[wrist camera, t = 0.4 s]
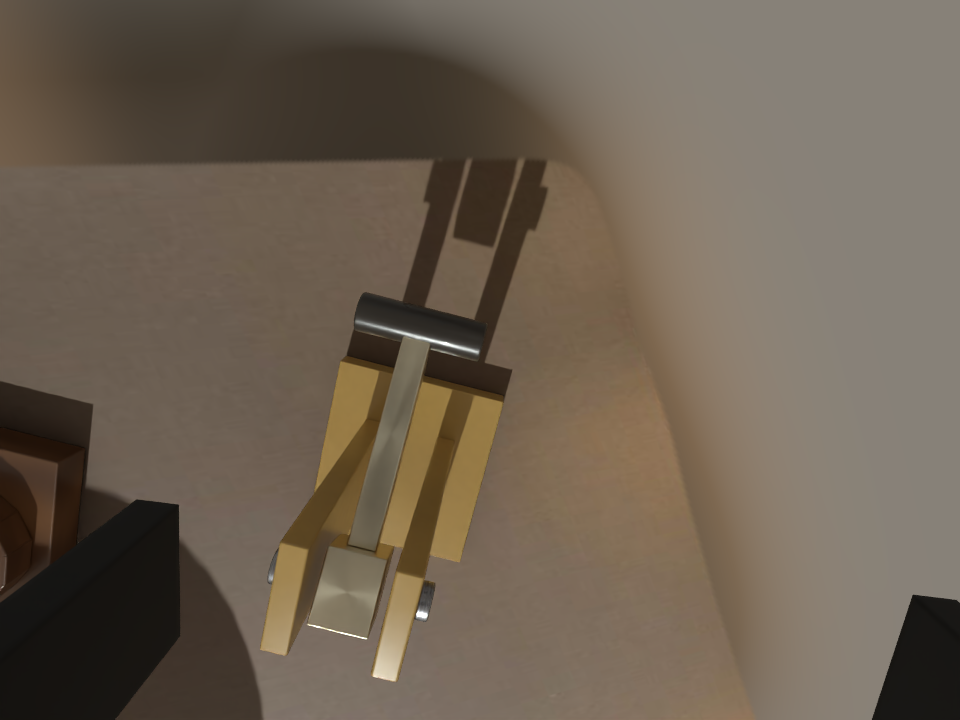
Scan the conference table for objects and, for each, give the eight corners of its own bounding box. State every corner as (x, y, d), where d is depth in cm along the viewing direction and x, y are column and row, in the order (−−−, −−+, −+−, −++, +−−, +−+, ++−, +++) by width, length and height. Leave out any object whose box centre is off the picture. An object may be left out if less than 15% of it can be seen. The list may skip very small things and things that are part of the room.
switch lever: (369, 298, 24) (359, 284, 22) (486, 328, 24) (489, 318, 22) (286, 595, 23) (266, 615, 20) (410, 626, 23) (406, 649, 20)
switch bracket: (346, 355, 32) (233, 451, 19) (503, 395, 32) (504, 518, 19) (313, 514, 34) (192, 701, 21) (461, 551, 35) (434, 759, 21)
